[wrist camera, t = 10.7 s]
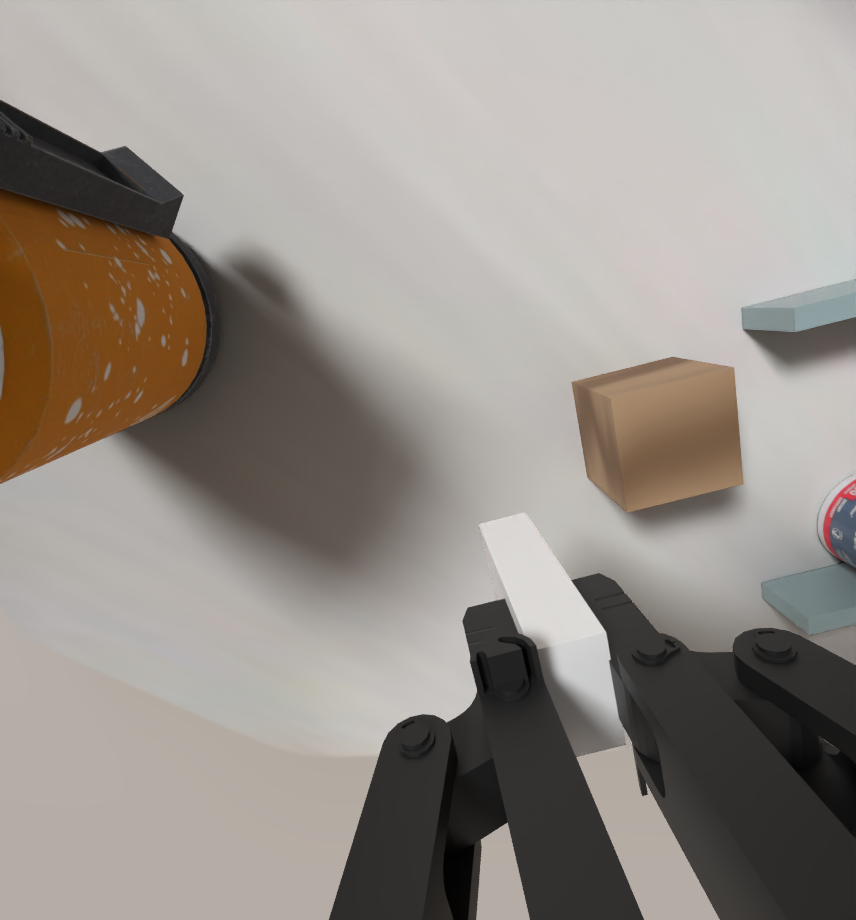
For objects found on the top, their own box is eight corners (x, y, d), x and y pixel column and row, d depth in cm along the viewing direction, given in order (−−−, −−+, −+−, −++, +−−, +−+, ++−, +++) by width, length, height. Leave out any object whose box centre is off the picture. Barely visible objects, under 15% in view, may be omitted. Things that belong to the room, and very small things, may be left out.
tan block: (571, 381, 26) (610, 398, 21) (671, 356, 26) (733, 367, 21) (586, 476, 27) (627, 512, 23) (682, 453, 27) (743, 484, 22)
